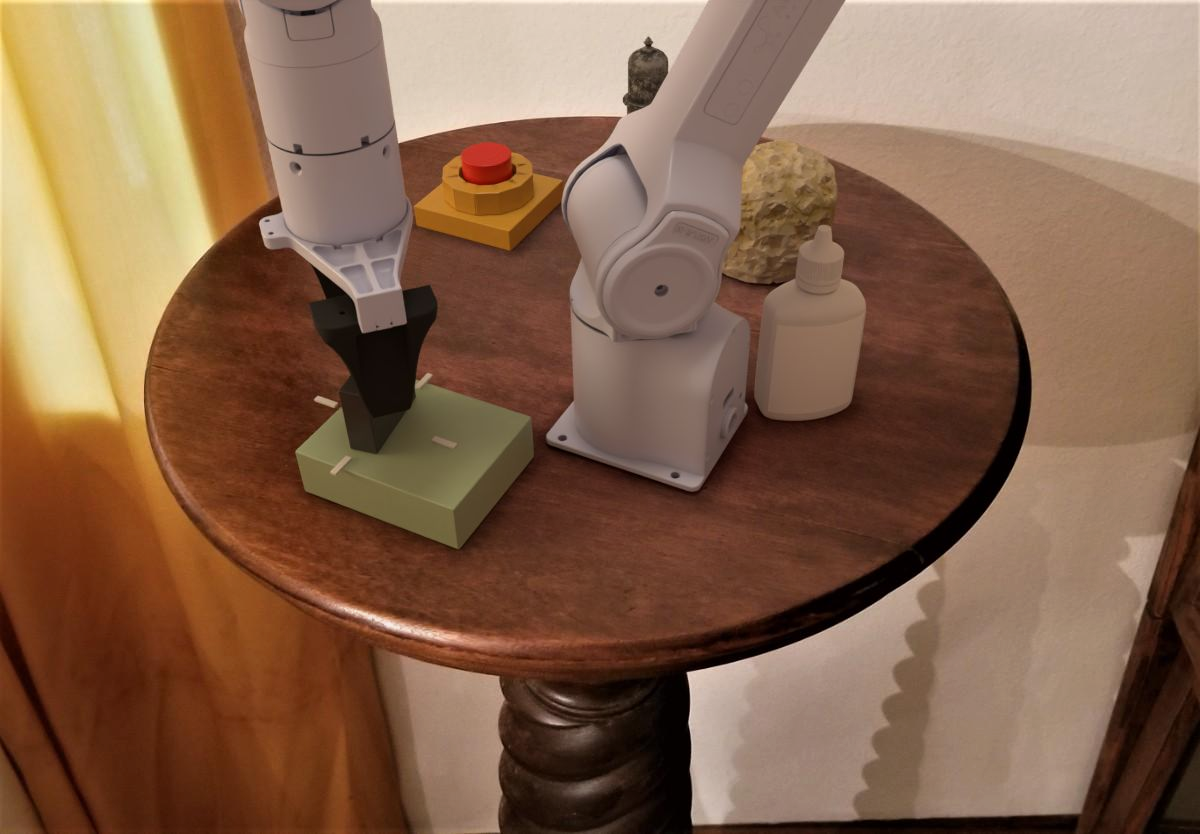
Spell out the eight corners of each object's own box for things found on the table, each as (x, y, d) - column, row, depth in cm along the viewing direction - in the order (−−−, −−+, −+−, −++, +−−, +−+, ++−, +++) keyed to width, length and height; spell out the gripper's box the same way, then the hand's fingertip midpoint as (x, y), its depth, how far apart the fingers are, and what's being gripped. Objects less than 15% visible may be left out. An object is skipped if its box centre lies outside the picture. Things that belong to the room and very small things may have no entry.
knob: (377, 454, 61) (365, 392, 58) (350, 448, 61) (337, 387, 58) (416, 396, 64) (407, 336, 62) (390, 391, 65) (380, 330, 62)
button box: (564, 199, 87) (562, 157, 84) (510, 251, 81) (507, 208, 79) (473, 177, 89) (469, 136, 87) (416, 226, 84) (410, 183, 82)
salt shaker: (603, 173, 90) (601, 22, 82) (678, 168, 90) (683, 18, 82) (612, 212, 85) (611, 56, 77) (691, 206, 86) (697, 51, 78)
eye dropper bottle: (842, 436, 66) (872, 258, 58) (747, 416, 67) (763, 241, 59) (855, 390, 69) (884, 215, 61) (763, 372, 70) (780, 200, 63)
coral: (711, 292, 77) (717, 191, 72) (687, 221, 84) (690, 125, 79) (845, 281, 78) (861, 181, 73) (810, 212, 85) (821, 116, 80)
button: (521, 170, 84) (520, 148, 83) (496, 192, 81) (495, 170, 80) (479, 159, 85) (477, 138, 84) (453, 181, 83) (451, 159, 82)
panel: (539, 450, 65) (537, 407, 63) (453, 558, 59) (446, 515, 57) (372, 394, 69) (364, 352, 67) (274, 489, 63) (262, 446, 61)
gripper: (220, 76, 55) (276, 307, 64) (262, 221, 45) (322, 473, 54) (365, 53, 57) (400, 281, 66) (437, 188, 47) (467, 436, 56)
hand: (374, 365), depth 60 cm, fingers open, 7 cm apart
